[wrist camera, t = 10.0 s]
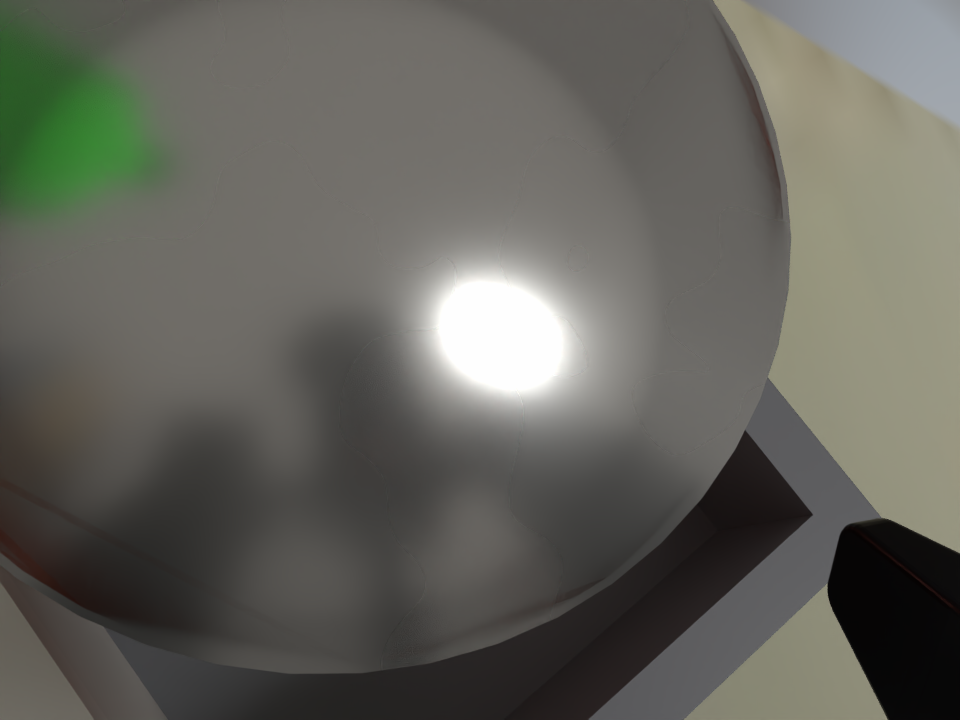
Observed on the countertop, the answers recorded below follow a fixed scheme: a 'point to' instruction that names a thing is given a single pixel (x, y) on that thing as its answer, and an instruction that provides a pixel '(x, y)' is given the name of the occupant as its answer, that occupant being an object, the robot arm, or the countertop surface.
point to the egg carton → (62, 664)
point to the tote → (595, 614)
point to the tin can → (371, 311)
